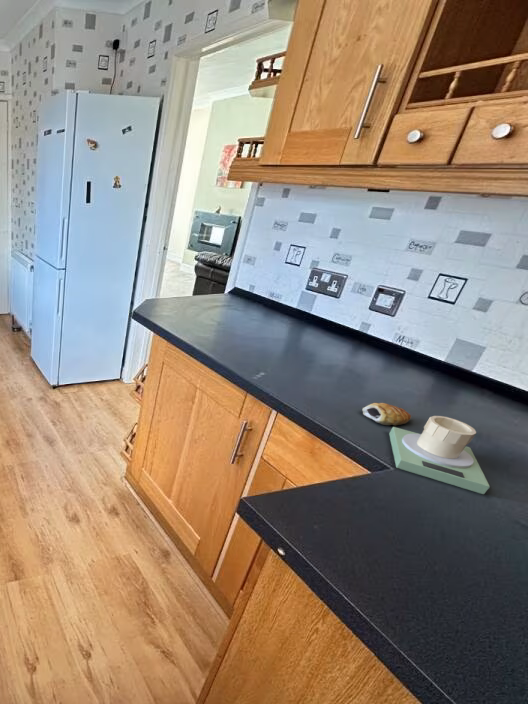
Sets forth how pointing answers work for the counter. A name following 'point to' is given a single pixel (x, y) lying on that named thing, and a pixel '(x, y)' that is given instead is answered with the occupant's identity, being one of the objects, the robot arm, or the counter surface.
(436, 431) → the cream hollow cylinder
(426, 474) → the scale
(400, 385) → the counter surface
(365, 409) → the pastry
